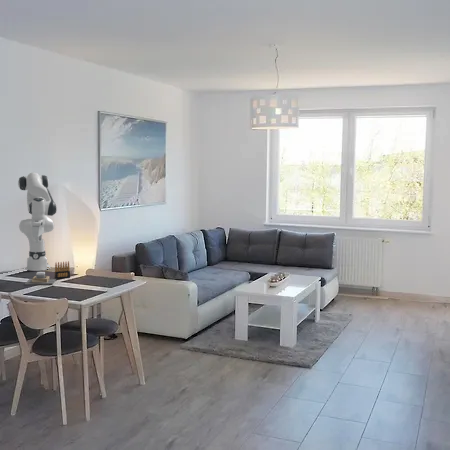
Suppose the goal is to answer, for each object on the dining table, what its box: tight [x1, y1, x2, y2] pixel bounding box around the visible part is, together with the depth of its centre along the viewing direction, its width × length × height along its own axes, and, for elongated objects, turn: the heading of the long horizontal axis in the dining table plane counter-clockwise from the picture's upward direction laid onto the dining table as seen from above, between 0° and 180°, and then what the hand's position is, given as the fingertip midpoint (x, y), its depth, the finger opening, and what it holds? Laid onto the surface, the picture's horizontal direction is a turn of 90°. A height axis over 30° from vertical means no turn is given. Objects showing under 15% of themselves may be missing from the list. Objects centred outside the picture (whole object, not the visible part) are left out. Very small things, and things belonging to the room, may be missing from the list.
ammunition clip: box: [54, 260, 71, 280], centre depth 421 cm, size 11×2×12 cm, turn 120°
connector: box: [35, 271, 46, 278], centre depth 405 cm, size 4×5×6 cm
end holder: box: [24, 275, 57, 286], centre depth 405 cm, size 16×18×4 cm
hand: (38, 241), depth 406 cm, fingers open, 8 cm apart
